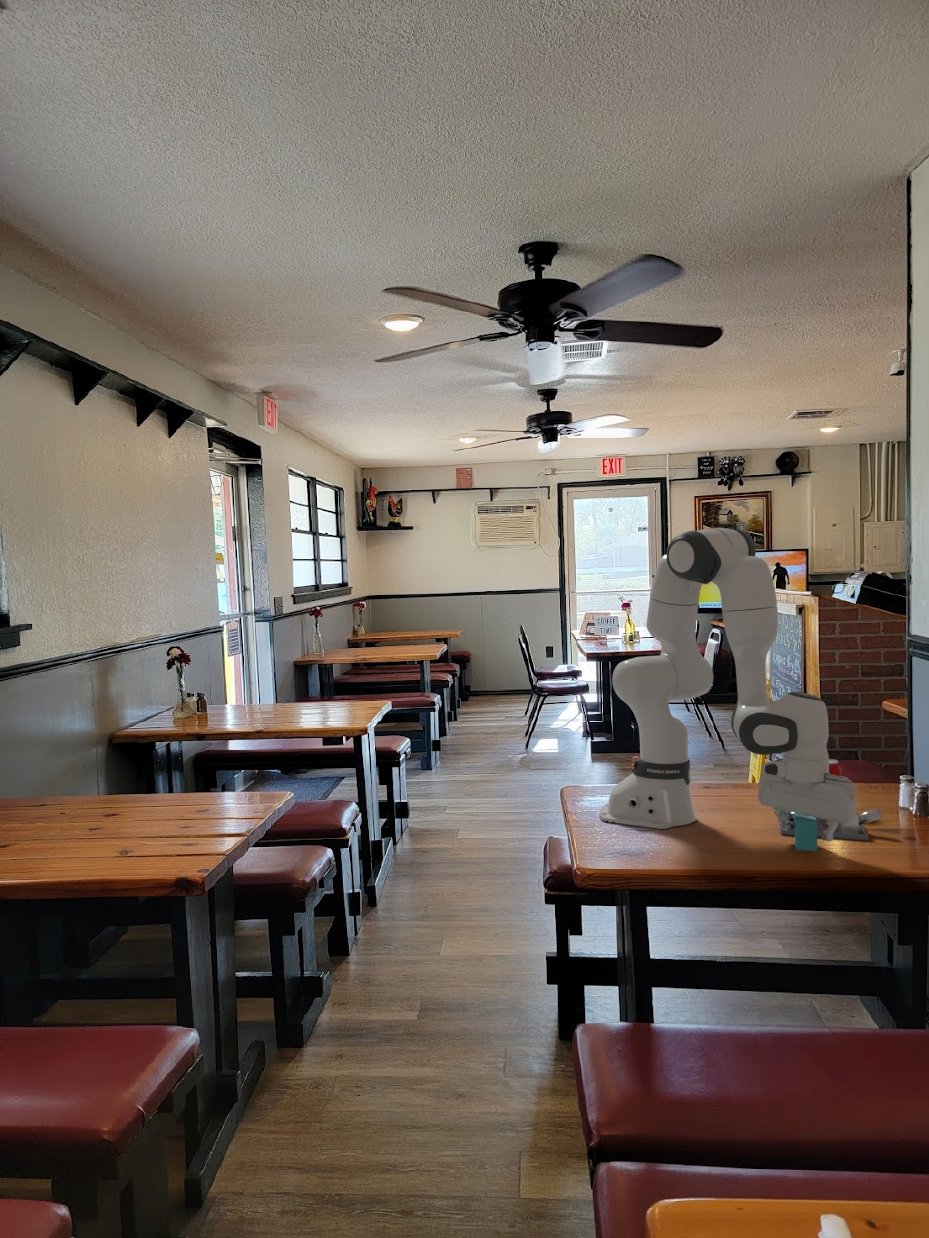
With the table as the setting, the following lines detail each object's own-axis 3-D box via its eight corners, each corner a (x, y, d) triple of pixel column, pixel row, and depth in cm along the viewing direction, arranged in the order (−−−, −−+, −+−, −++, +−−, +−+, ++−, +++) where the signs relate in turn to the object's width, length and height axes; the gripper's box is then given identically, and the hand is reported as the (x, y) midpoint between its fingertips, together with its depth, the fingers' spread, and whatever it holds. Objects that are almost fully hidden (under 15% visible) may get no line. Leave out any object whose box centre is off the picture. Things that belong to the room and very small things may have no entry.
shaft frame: (780, 834, 177) (780, 808, 176) (777, 820, 187) (777, 795, 187) (886, 842, 170) (886, 815, 170) (877, 827, 180) (877, 801, 180)
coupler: (796, 849, 167) (795, 821, 167) (794, 843, 171) (794, 815, 170) (817, 851, 166) (817, 822, 165) (815, 845, 169) (815, 817, 169)
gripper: (862, 776, 161) (862, 843, 162) (770, 759, 177) (770, 821, 178) (846, 781, 157) (847, 850, 158) (753, 764, 173) (754, 826, 174)
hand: (805, 834), depth 168 cm, fingers open, 8 cm apart
